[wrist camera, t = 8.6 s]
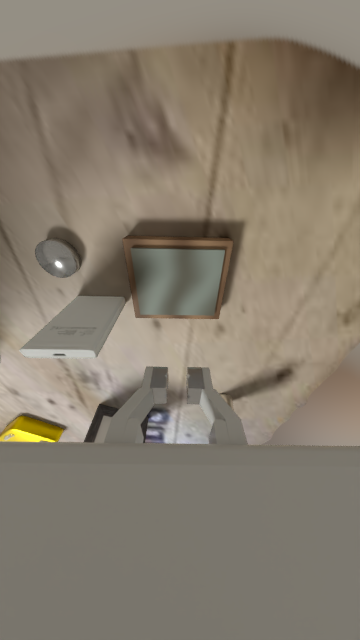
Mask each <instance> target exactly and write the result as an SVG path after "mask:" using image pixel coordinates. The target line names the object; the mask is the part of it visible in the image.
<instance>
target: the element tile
mask: <svg viewBox="0 0 360 640" xmlns="http://www.w3.org/2000/svg"><path fill="white" fill-rule="evenodd" d="M63 431H64V430H63V429H62V428H60V427H57V426H54V425H51V424H48V423H45V422H42V421H39V420H36V419H33V418H30V417H26V416H19V417H17V418H16V419H15V420H14V421H12V422H11V423H10V424H9V425H8V426H7V427H6V428H5V429H4V430H3V432H2V433H1V434H0V441H12V442H58V441H59V439H60V437H61V435H62V433H63Z"/></svg>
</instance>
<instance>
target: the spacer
mask: <svg viewBox="0 0 360 640" xmlns="http://www.w3.org/2000/svg"><path fill="white" fill-rule="evenodd" d="M35 254H36V258H37V260H38V262H39V264H40V265H41V266H42V268H43V269H44V270H46V271H47V272H48V273H50V274H51V275H53V276H56V277H60V278H66V277H69V276H71V275H72V274H74V273H75V272H77V271H78V270H79V269H80V266H81V259H80V256H79V254H78V252H77V250H76V249H75V248H74V247H73V246H72V245H71V244H70V243H68V242H67V241H65V240H62V239H57V238H54V239H50V240H46V241H42V242H40V243H39V244H38V245H37V246H36V250H35Z"/></svg>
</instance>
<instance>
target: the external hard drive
mask: <svg viewBox="0 0 360 640" xmlns="http://www.w3.org/2000/svg"><path fill="white" fill-rule="evenodd" d="M125 303H126V302H125V298H124V297H116V296H77V297H76V298H75V299H74V300H73V301H72V302H71V303H70V304H68V305H67V306H66V307H65V308H64V309H63V310H62V311H61V312H60V313H59V314H58V315H57V316H55V317H54V318H53V319H52V320H51V321H50V322H49V323H48V324H47V325H46V326H45V327H44V328H43V329H41V330H40V331H39V332H38V333H37V334H36V335H35V336H34V337H33V338H32V339H31V340H30V341H29V342H27V343H26V344H25V345H24V346H23V347H22V348H21V349H20V350H19V351H20V352H21V353H22V354H23V356H24V357H27V358H75V359H77V358H78V359H93V358H96V357H97V356H98V354H99V352H100V350H101V348H102V347H103V345H104V343H105V341H106V339H107V337H108V335H109V334H110V332H111V330H112V328H113V326H114V324H115V322H116V320H117V319H118V317H119V315H120V313H121V311H122V309H123V307H124V306H125Z"/></svg>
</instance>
